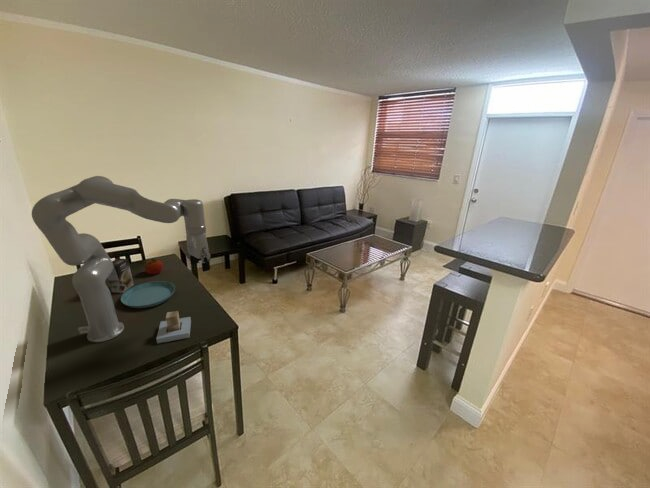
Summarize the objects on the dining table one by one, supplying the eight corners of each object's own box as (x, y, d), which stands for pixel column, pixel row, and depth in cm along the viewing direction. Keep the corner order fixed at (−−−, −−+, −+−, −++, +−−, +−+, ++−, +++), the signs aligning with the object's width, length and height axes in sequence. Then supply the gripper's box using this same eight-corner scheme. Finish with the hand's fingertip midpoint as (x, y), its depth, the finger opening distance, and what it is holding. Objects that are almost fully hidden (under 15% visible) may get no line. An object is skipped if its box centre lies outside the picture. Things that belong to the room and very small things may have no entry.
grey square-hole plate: (157, 343, 115) (156, 338, 114) (161, 326, 126) (160, 321, 125) (189, 337, 119) (188, 332, 119) (191, 321, 130) (190, 316, 129)
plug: (169, 335, 120) (165, 318, 117) (170, 329, 124) (167, 312, 120) (180, 333, 121) (177, 316, 118) (180, 327, 125) (178, 310, 122)
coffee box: (123, 293, 149) (116, 265, 144) (111, 292, 149) (104, 265, 144) (134, 284, 158) (128, 258, 152) (123, 284, 158) (116, 258, 152)
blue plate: (117, 296, 147) (115, 290, 146) (167, 282, 163) (166, 277, 162) (128, 317, 131) (126, 311, 130) (182, 299, 147) (181, 293, 146)
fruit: (162, 268, 178) (159, 253, 175) (165, 273, 172) (163, 258, 168) (144, 272, 173) (141, 257, 169) (147, 278, 166) (144, 262, 162)
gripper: (177, 227, 119) (182, 263, 125) (197, 236, 109) (202, 276, 115) (194, 223, 124) (198, 258, 130) (215, 232, 114) (219, 270, 120)
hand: (200, 267), depth 122 cm, fingers open, 9 cm apart
